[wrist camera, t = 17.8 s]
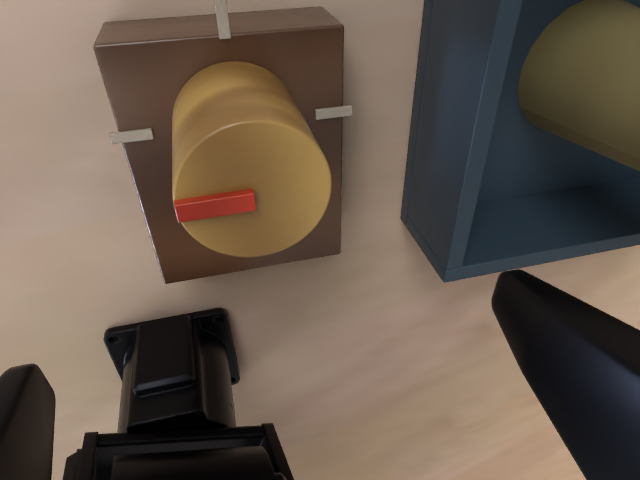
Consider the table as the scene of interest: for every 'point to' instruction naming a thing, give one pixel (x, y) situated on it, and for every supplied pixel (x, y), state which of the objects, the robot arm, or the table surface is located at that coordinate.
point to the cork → (588, 79)
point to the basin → (501, 152)
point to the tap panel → (172, 74)
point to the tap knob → (245, 162)
